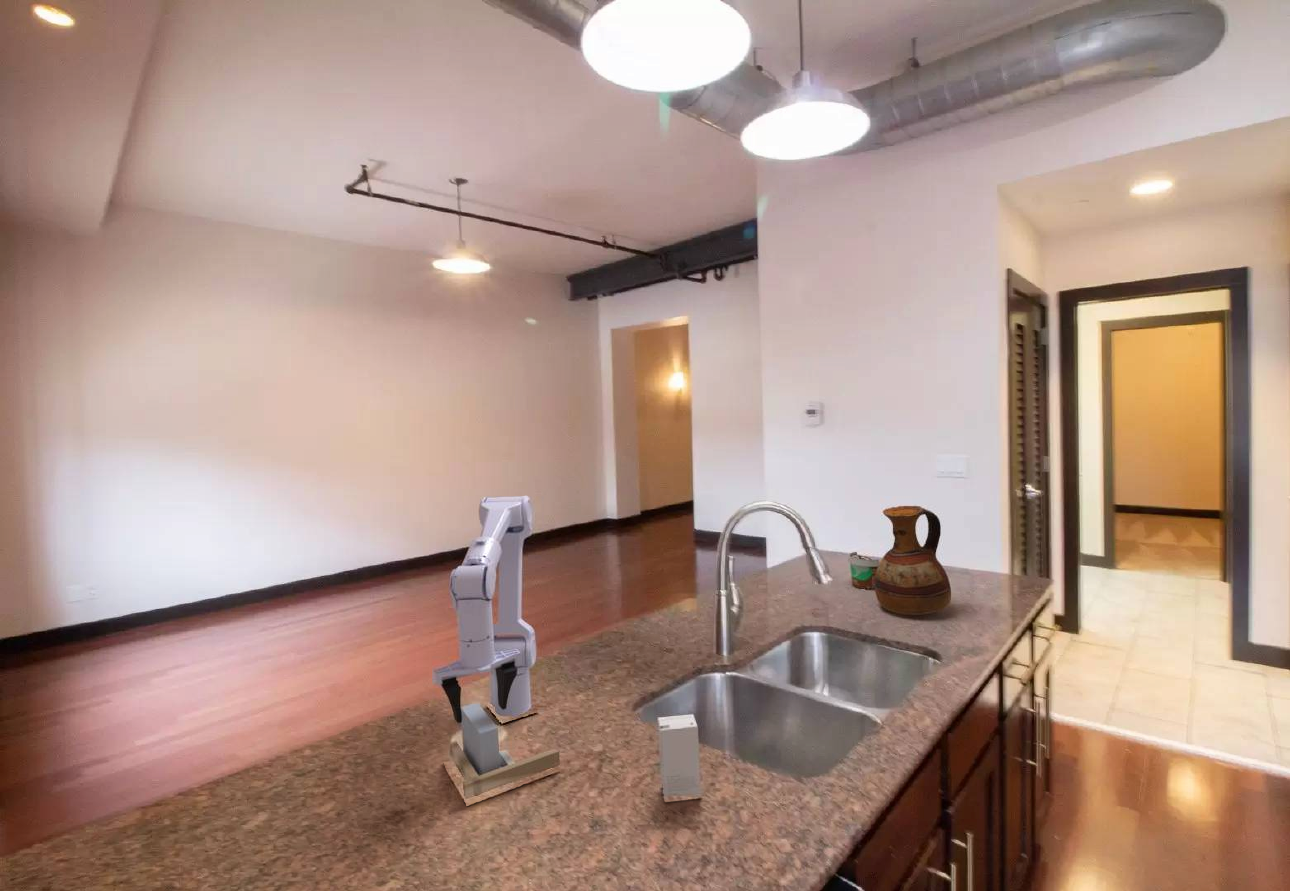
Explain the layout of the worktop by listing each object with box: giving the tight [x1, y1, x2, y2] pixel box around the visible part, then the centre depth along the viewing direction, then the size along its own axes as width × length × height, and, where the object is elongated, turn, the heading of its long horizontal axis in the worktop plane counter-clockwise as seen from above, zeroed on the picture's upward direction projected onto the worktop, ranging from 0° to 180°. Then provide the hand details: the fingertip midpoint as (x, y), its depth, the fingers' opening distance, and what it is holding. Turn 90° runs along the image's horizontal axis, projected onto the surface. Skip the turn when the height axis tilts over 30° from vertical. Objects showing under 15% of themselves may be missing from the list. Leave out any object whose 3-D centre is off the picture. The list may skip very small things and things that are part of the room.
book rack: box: [448, 740, 561, 799], centre depth 108 cm, size 14×16×4 cm
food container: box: [847, 551, 880, 591], centre depth 201 cm, size 12×6×10 cm, turn 17°
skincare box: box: [656, 713, 702, 798], centre depth 99 cm, size 6×4×12 cm
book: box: [461, 701, 500, 776], centre depth 107 cm, size 11×3×9 cm, turn 32°
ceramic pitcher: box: [874, 505, 952, 615], centre depth 178 cm, size 20×20×30 cm
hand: (480, 713), depth 106 cm, fingers open, 7 cm apart
